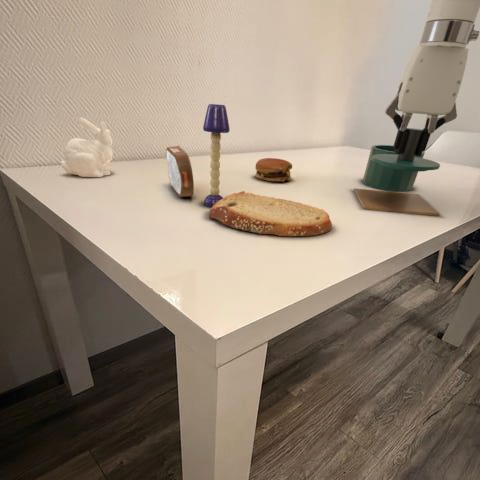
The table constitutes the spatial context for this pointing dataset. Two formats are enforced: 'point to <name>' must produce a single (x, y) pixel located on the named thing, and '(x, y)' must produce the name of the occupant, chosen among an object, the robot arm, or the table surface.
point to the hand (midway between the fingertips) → (407, 153)
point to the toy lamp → (215, 147)
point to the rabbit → (89, 152)
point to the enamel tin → (388, 172)
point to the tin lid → (407, 155)
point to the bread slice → (270, 215)
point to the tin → (180, 171)
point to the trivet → (394, 202)
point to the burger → (273, 169)
